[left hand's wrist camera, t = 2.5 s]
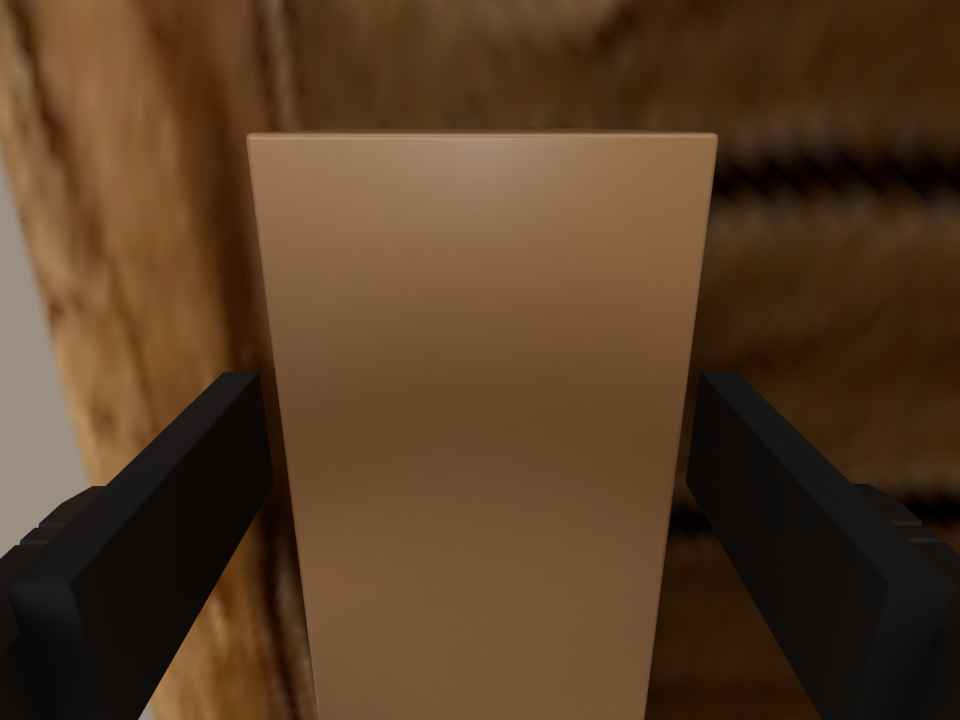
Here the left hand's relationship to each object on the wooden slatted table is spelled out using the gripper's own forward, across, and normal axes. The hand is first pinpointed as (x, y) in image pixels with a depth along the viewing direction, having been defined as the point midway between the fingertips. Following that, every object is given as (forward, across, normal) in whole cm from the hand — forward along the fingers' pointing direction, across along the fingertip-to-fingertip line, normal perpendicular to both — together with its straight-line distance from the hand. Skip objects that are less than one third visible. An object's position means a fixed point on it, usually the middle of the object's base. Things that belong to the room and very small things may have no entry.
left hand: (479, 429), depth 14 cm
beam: (+1, 0, -23) cm, 23 cm away
